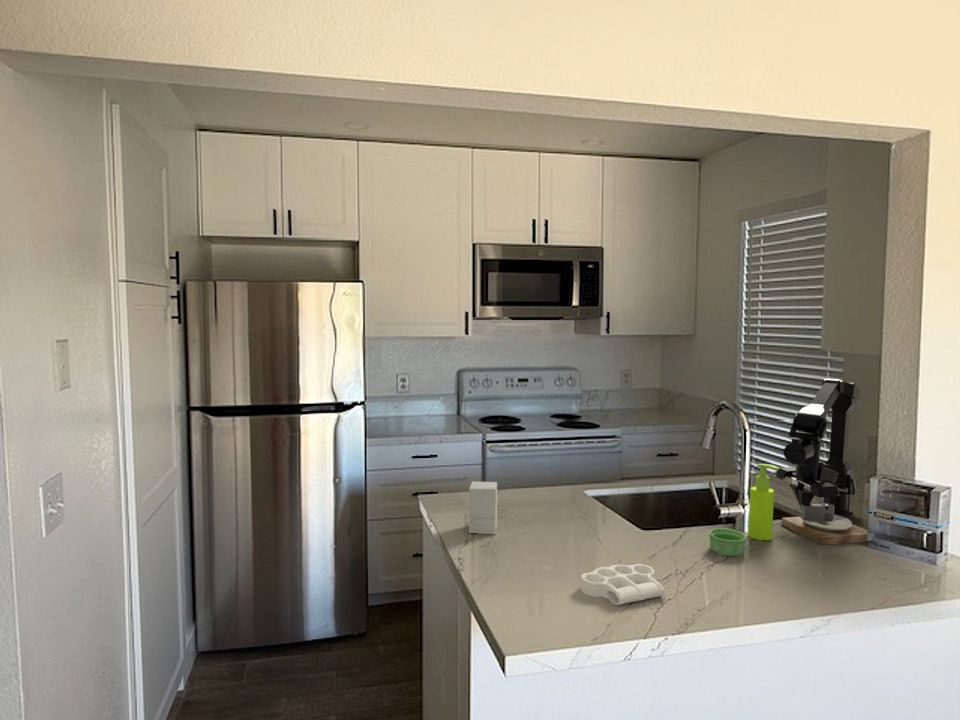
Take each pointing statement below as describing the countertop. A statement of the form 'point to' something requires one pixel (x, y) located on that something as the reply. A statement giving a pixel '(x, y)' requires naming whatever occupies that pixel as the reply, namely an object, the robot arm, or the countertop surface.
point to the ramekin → (727, 541)
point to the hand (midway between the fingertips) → (804, 511)
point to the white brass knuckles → (622, 583)
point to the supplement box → (483, 507)
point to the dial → (824, 518)
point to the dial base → (825, 532)
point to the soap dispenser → (761, 506)
